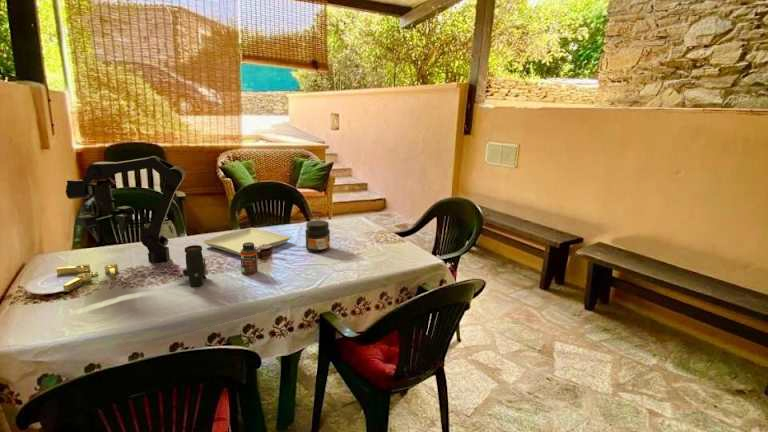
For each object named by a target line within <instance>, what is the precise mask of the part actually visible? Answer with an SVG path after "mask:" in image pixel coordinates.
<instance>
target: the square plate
mask: <svg viewBox="0 0 768 432" xmlns="http://www.w3.org/2000/svg"><path fill="white" fill-rule="evenodd" d="M291 238H292V237H291V236H289V235H284V234H281V233H278V232H273V231H269V230H265V229H261V228H255V227H248V228H247V227H246V228H244V229H239V230H235V231H232V232H228V233H224V234H220V235H218V236H217V235H216V236H215V237H212V238H209V239H205V240H202V243H204V244H205V245H206V246H209V247H212V248H215V249H219V250H222V251H225V252H229V253H232V254H235V255H237V256H241V254H240V252H241V250H242V249H243V244H244V243H247V242H252V243H254V246H259V245H262V244H266V245H264V246H267V245H271V246H272V248H274V247H275V248H276V247H277V246H279V245H281V244H284V243H287V242H288V241H289V240H290V239H291ZM264 246H261V247H264ZM261 247H258V248H256V250H257V251H258V250H259V249H260V248H261Z"/></svg>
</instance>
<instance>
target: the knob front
mask: <svg viewBox="0 0 768 432" xmlns="http://www.w3.org/2000/svg"><path fill="white" fill-rule="evenodd" d="M55 270H56V275H71V274H72V275H73V274H77V275H78V274H82V273H90V272H92V271H91V266H90V264H86V263H85V264H80V265H79V264H78V265H76V266H74V265H72V266H59V267H57V268H56V269H55Z"/></svg>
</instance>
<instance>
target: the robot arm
mask: <svg viewBox="0 0 768 432" xmlns="http://www.w3.org/2000/svg"><path fill="white" fill-rule="evenodd" d="M145 169H146V170H147V169H153V170H154V171H155V172H156V173H158V174H159V175H160V176H162V177H164V183H163V191H162V194H161V197H160V199H159V202H158V205H157V206H156V209H155V212H154V215H153V218H152V220H151V223H149V222H148V223H146V224H145V225H144V227H142V228H143V229H142V234H141V235H139V238H141V239H140V241H141V244H142V245H143V246H144V247H145V248H146V249H147V251H148V253H147V259H148V262H149V263H153V264H163V263H168V261H170V260H171V261H173V260H172V258H170V257H171V256H170V247H169V246H168V244H169V239H168V238H167V237H165V236H164V235H163V232H164V231H163V230H164V223H165V219H166V218H167V214H168V213H169V209H170V206H171V204H172V202H173V199H174V197H175V193H176V192H177V189H178V188H179V187H180V185H181V183H182V182H183V180H184V179H185V177H186V171H185V170H184V169H183V167H180V166H177V165H173V164H172V163H170V162H168V161H166V160H163V159H161V158H160V157H159V156H156V155H152V156H149V157H143V158H137V159H131V160H130V159H129V160H124V161H117V162H116V161H97V162H94V163H92V164H89V165H88V166H87V167H86V171H85V172H86V174H85V176H84V177H83V179H68V180H66V186H65V189H66V190H65V194H66V197H67V198H68V199H69V200H75V199H77V200H78V199H89V198H90V196H93V199H92V200H91V204H90V205H88V204H87V203H84V204H81V205H79V208H80V212H81V214H83V215H81V216H76V219H75V225H76V226H79V227H82V228H83V227H84V228H85V229H87V230H88V231H89V232H90V234H91V235H92V236H93V238H94V239H95V241H96V242H97V243H99V242H101V235H100V234H101V233H100V225H99V224H97V223H98V221H101V220H105V219H108V218H113V217H115V218H116V219H117V221H118V222H117V223H118V228H119V233H120V235H122V236H123V235H125V231H126V229H127V226H128V224H129V221H130V219H131V218H132V217H133V215H135V214H136V212H135V209H134V207H133V206H128V205H123V206H118V207H116V208H115V202H116V198H113V194H112V187H111V186H114V185H116V184H117V181H116V180H115V179H113V178H112V177H111V176H114V175H117V174H121V173H128V172H134V171H140V170H145ZM106 178H107V179H106ZM95 181H97V182H95ZM84 214H85V215H84Z"/></svg>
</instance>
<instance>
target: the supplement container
mask: <svg viewBox="0 0 768 432" xmlns="http://www.w3.org/2000/svg"><path fill="white" fill-rule="evenodd" d="M305 226H306V229H305V230H304V231H305V250H306V251H308V252H310V253H313V254H314V253H316V254H320V253H325V252H327V251H328V250H330V248H331V242H330V241H331V230H330V228H329V227H330V224H329V221H326V220H323V219H321V220H320V219H319V220H317V219H315V220H314V219H313V220H310V221H307V222H306V225H305Z"/></svg>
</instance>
